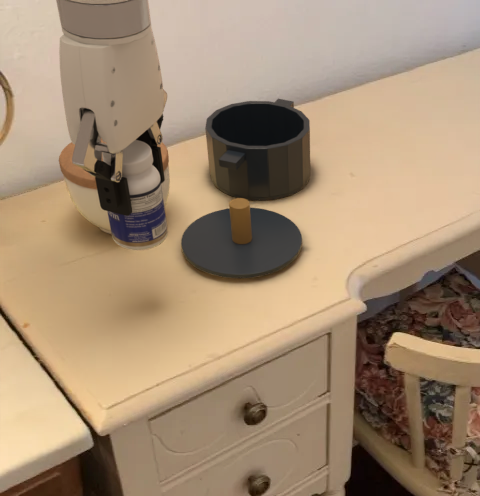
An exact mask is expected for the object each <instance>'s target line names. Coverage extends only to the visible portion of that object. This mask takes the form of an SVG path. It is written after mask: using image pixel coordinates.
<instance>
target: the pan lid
mask: <svg viewBox="0 0 480 496" xmlns="http://www.w3.org/2000/svg"><path fill="white" fill-rule="evenodd" d="M228 207H229V208H224V209H223V208H222V209H219V210H215V211H211V212H210V213H206V214H204V215H202V216H200V217H199V218H196V220H194V221H192V222H191V223H190V224H189V225H188V226H187V227H186V229H185V230H184V232H183V234H182V236H181V240H180V241H181V243H180V246H181V251H182V254H183V256H184V258H185V259H186V260H187V262H188V263H190V264H191V266H193V267H195V268H196V269H198V270H200V271H202V272H204V273H206V274H209V275H212V276H215V277H221V278H227V279H251V278H258V277H263V276H268V275H271V274H273V273H276V272H279V271H281V270H283V269H284V268H286V267H287V266H289V265H290V264H292V263H293V262H295V260H296V259H297V258H298V256H299V255H300V253H301V250H302V248H303V236H302V232H301V230H300V229H299V227H298V226H297V225H296V223H295V222H294V221H293V220H292V219H290V218H288V217H287V216H285V215H283V214H280V213H278V212H276V211H273V210H270V209H265V208H260V207H259V208H258V207H251V204H250V200H247V199H244V198H236V197H235V198H233V199H230V200H229V203H228Z"/></svg>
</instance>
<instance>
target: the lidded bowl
mask: <svg viewBox="0 0 480 496" xmlns="http://www.w3.org/2000/svg"><path fill="white" fill-rule="evenodd" d="M101 142H102V143H106V142H103V140H102V138H101ZM106 144H107V143H106ZM157 146H158V147H161V154H162V162H163V170H164V178H165V181H164V182H163V183H162V184H161V186H162V193H163V201H164V208H165V207H166V205H167V203H168V200H169V195H170V188H171V175H170V166H169V162H170V159H169V150H168V148H167V146H166V145H165V143H164V142H163V141H162V143H161V145H157ZM74 148H75V145H74V144H73V143H72V141H71V142H69V143H68V144H66V146H65V147H64V148H63V149H62V150H61V152H60V154H59V156H58V164H59V168H60V172H61V174H62V175H63V180H64V183H65V187H66V190H67V192H68V193H67V194H68V195H69V197H70V199H71V201H72V203H73V205H74V208H76V210H77V212H79V214H80V215H81V216H82V218H84V219H85V220H86V221H88V222H89V223H91V224H92V225H94V226H96V227H98V229H99V230H100V231H102V232H103V233H106V234H108V235H112V234H111V228H110V223H109V218H108V212H107V211H105V210H103V209H102V208H101V206H100V201H99V196H98V191H97V186H96V181H95V177H93V176H91V175H90V173H88V172H87V171H85V170H84V169H82V168H80V167H78V166H76V165H74V164H73V162H72V156H73V152H74ZM102 161H103V157H102Z"/></svg>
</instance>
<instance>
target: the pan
mask: <svg viewBox="0 0 480 496" xmlns="http://www.w3.org/2000/svg"><path fill="white" fill-rule="evenodd" d="M310 122H311V121H310V119H309V118H308V117H307V116H306V114H305V113H303V111H302V110H299V109H297V108H295V102H294V101H293V100H288V99H283V98H277V99H276V100H275V101H269V100H246V101H242V102H241V101H240V102H235V103H231V104H228V105H225V106H223V107H221V108H218V109H216V110H215V111H213V112H212V113H211V114H210V115H209V116H208V117H207V118H206V121H205V128H204V130H205V138H206V139H205V140H206V150H207V157H208V169H209V175H210V176H209V177H210V179H211V182H212V183H213V185H214V186H215V187H216V188H217V189H218V190H219V191H221V192H222V193H224V194H226V195H228V196H230V197H232V198H235V199H236V198H244V199H247V200H248V201H272V200H274V201H275V200H280V199H284V198H287V197H290V196H292V195H294V194H296V193H298V192H300V191H302V190H303V189H304V188H305V187H306V186H307V185H308V183H309V181H310V178H311V133H310V132H311V127H310V126H311V123H310Z"/></svg>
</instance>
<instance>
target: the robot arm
mask: <svg viewBox="0 0 480 496" xmlns="http://www.w3.org/2000/svg"><path fill="white" fill-rule="evenodd" d="M55 2H56V7H57V12H58V16H59V22H60V26H61V27H60V28H61V32H62V34H63V35H61V36H60V37H59V48H58V49H59V52H58V53H59V54H58V55H59V71H60V73H59V74H60V85H61V92H62V93H61V94H62V100H63V106H64V114H65V120H66V125H67V130H68V135H69V138H70V139H69V140H70V141H71V142H72V143H73V144H74V145H75V148H74V152H73V156H72V162H73V164H74V165H76V166H78V167H80V168H82V169H84V170H85V171H87V172H88V173H90V175H91V176H93V177H95V181H96V186H97V191H98V196H99V201H100V206H101V208H102V209H103V210H105V211H109V212H113V213H117V214H121V215H125V216H129V215H130V214H131V213H132V206H131V200H130V193H129V187H128V181H127V178H125V177H122V164H123V149H124V148H126V147H127V146H128V145H130V144H131V143H132V142H133V141H134V140H139V141H142V142H145V143H146V144H148V145H149V146H150V148H151V150H152V156H153V163H152V165H153V166H154V167H155V168H156V169H157V170H158V172H159V174H160V179H161V184H162V183H163V182H164V181H165V178H164V170H163V162H162V154H161V147H158V146H157V145H161V143H162V142H163V137H164V136H163V134H162V131H161V128H162V125H163V122H164V111H165V108H166V104H167V100H168V93H167V91H166V90H165V89H164V84H163V77H162V70H161V64H160V58H159V54H158V49H157V44H156V40H155V35H154V31H153V27H152V21H151V12H150V3H149V0H55ZM101 138H102V140H103V142H106V143H107V144H106V143H102V142H101ZM102 152H105V153H110V154H111V166H110V165H108V164H107V163H105V162H104V161H102Z"/></svg>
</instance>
